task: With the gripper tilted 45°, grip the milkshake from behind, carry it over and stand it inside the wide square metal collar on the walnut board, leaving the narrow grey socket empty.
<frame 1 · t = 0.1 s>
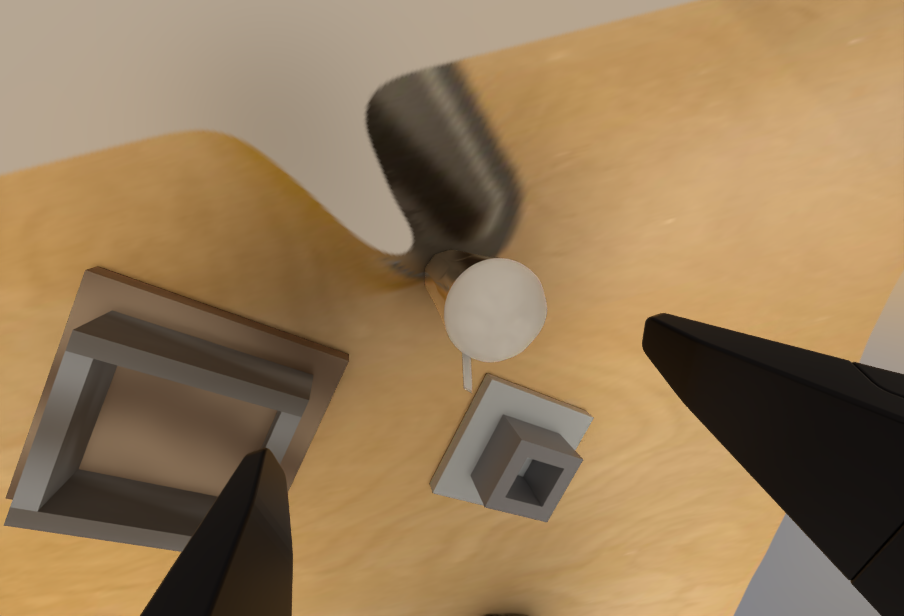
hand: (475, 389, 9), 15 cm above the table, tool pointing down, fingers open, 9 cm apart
wide socket: (194, 415, 23), on the table
narrow socket: (510, 445, 29), on the table
milkshake: (444, 280, 24), on the table
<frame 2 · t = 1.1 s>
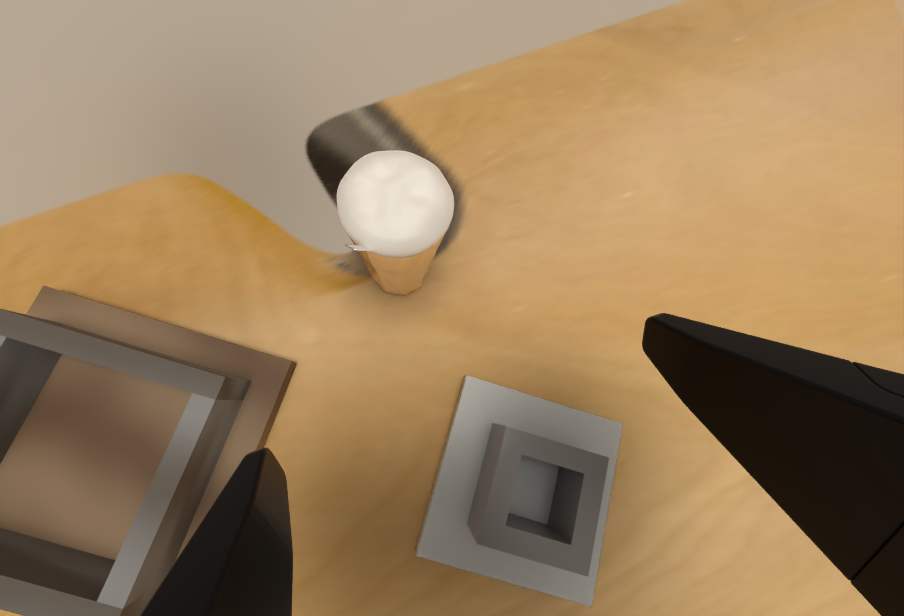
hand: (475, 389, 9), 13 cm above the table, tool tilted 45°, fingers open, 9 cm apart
wide socket: (119, 450, 20), on the table
narrow socket: (520, 481, 21), on the table
milkshake: (396, 276, 23), on the table
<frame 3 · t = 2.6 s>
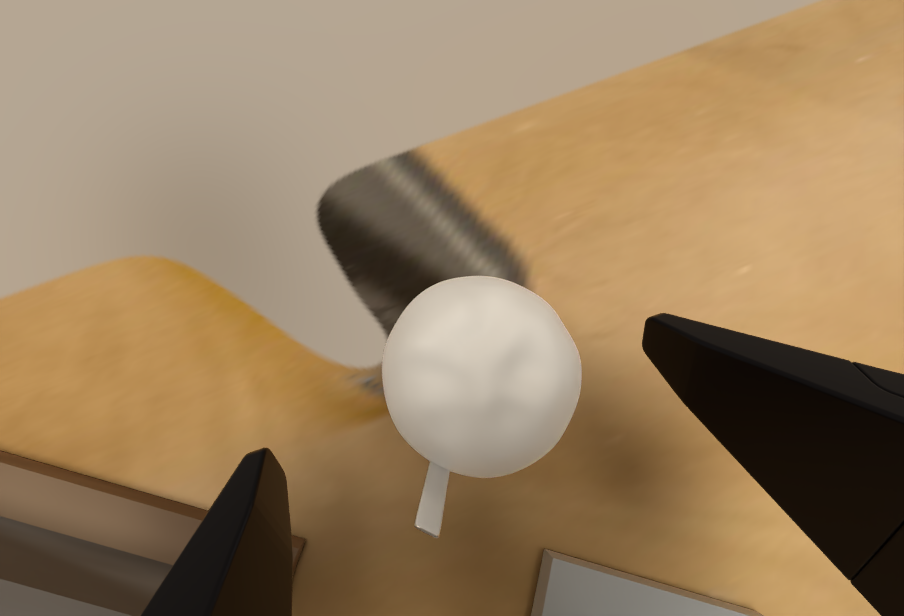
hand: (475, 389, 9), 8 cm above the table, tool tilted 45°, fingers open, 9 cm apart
milkshake: (443, 396, 17), on the table
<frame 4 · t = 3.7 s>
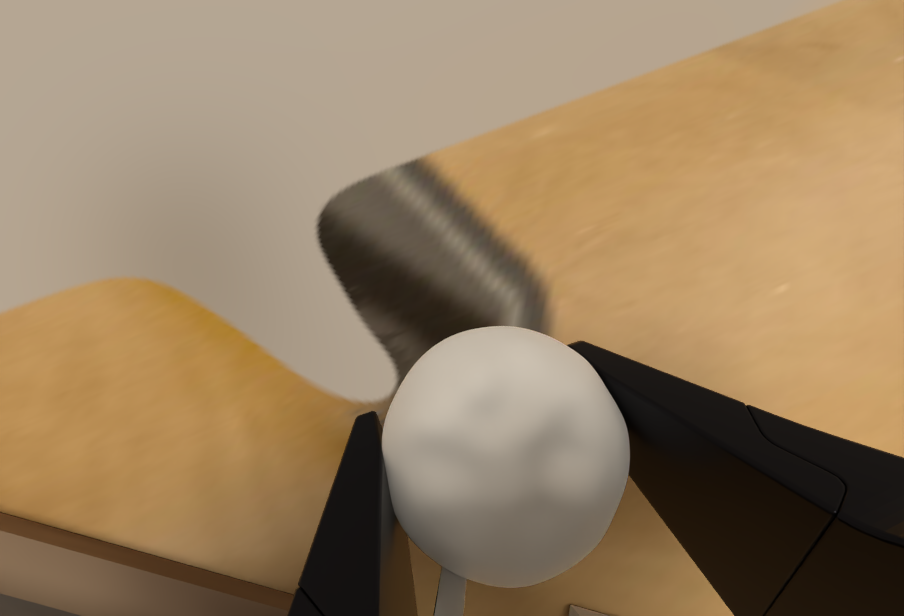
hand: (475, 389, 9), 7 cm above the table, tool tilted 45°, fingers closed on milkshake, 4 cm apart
milkshake: (457, 432, 15), on the table, touching gripper
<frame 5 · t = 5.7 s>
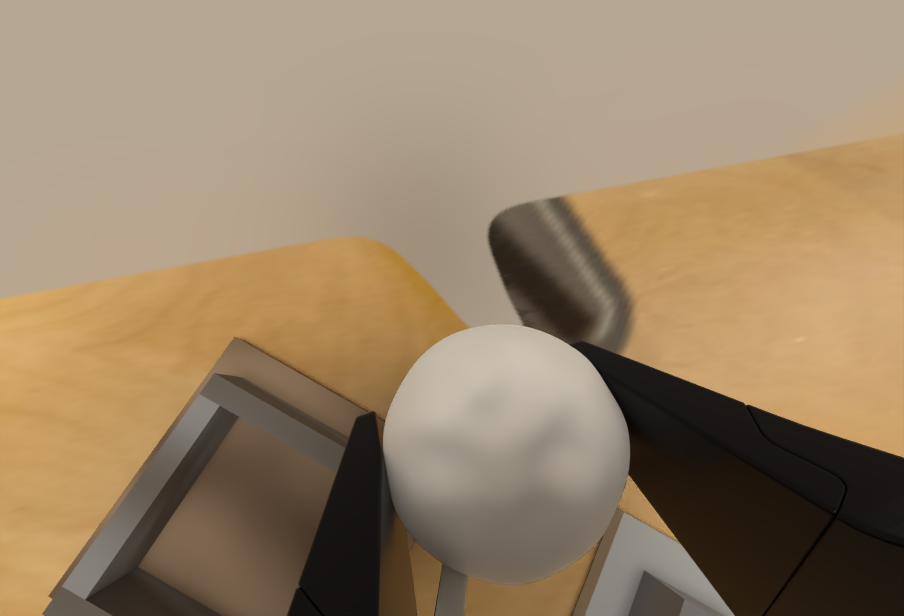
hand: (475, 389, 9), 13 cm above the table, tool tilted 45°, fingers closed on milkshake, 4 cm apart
wide socket: (275, 517, 20), on the table
milkshake: (457, 431, 15), point 6 cm above the table, touching gripper
when the fingers open (9 cm above the table, at t = 7.8 s): milkshake drops 1 cm, resting on wide socket.
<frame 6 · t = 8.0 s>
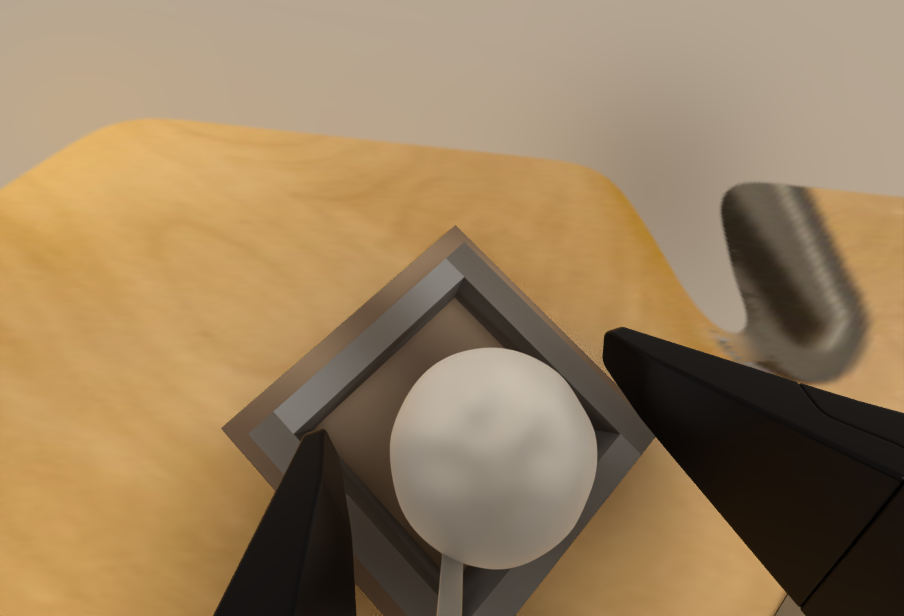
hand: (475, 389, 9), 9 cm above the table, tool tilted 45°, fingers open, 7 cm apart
wide socket: (451, 427, 17), on the table
milkshake: (444, 437, 16), point 1 cm above the table, touching wide socket
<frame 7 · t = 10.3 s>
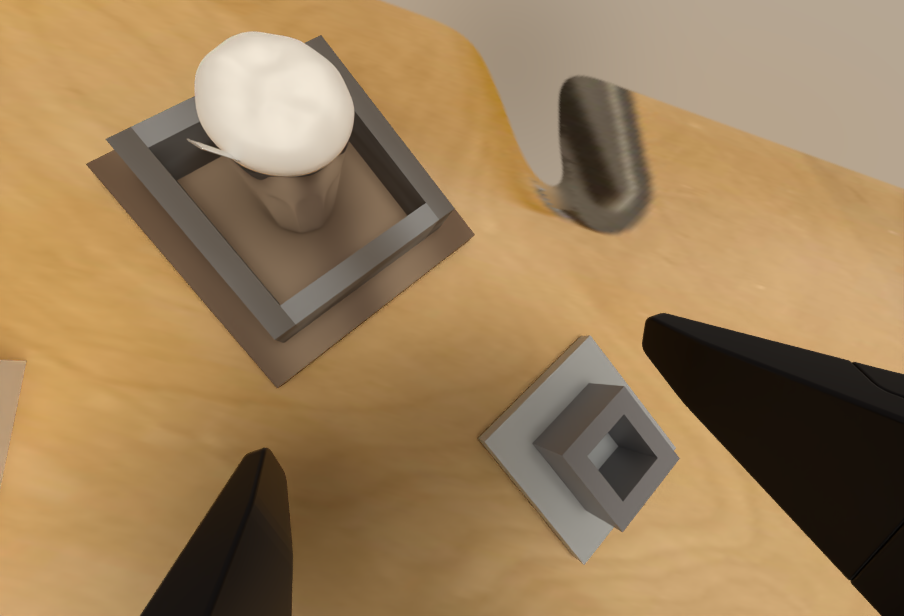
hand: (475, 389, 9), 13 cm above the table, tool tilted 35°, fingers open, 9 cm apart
wide socket: (305, 210, 21), on the table
narrow socket: (577, 441, 24), on the table
milkshake: (295, 210, 20), point 1 cm above the table, touching wide socket
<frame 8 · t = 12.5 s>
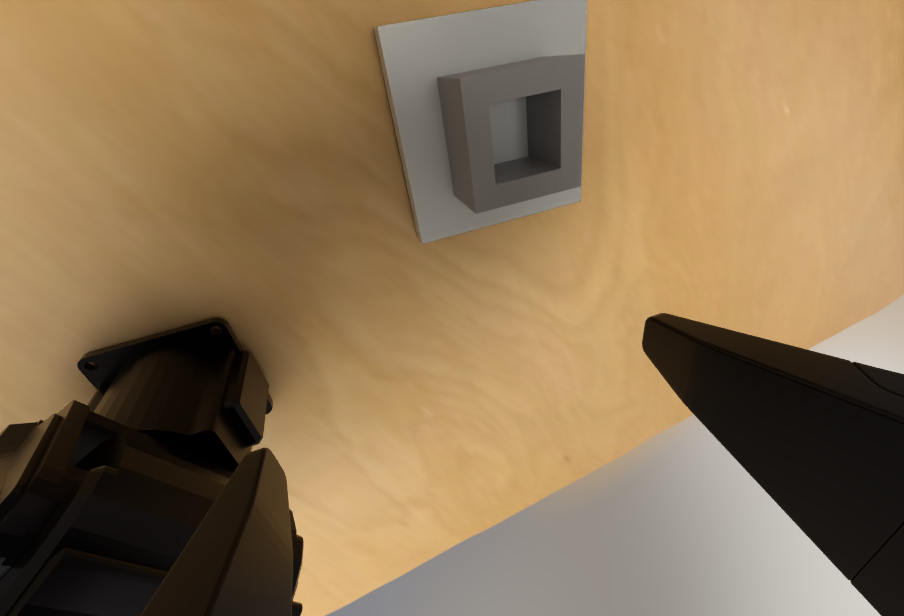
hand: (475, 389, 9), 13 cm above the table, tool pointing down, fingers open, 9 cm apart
narrow socket: (489, 127, 19), on the table
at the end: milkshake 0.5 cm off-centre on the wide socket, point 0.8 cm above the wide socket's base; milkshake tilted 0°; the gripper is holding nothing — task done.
